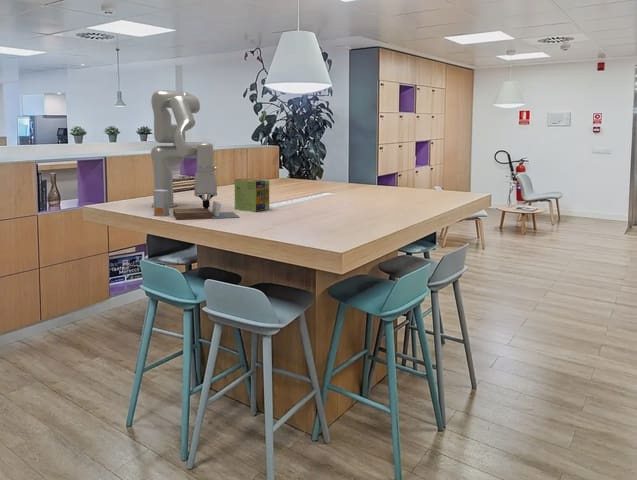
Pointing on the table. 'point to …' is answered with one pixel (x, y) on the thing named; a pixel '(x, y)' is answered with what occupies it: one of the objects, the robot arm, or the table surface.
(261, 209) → the protein box
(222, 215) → the mat
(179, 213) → the board
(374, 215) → the table surface
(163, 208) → the skincare box
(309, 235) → the table surface
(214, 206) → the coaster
